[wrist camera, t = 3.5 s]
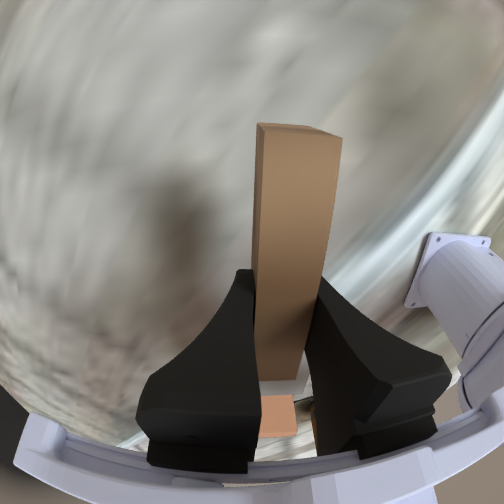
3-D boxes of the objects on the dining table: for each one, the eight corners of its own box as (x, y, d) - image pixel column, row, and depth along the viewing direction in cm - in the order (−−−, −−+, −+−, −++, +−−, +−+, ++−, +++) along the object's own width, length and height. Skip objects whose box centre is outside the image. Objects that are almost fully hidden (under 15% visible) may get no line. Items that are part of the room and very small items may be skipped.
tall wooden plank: (204, 122, 10) (182, 131, 6) (354, 132, 10) (405, 149, 6) (218, 386, 18) (216, 434, 15) (300, 385, 18) (308, 431, 15)
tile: (287, 362, 27) (297, 430, 20) (285, 369, 27) (295, 435, 20) (219, 363, 26) (215, 432, 19) (219, 370, 27) (216, 437, 20)
